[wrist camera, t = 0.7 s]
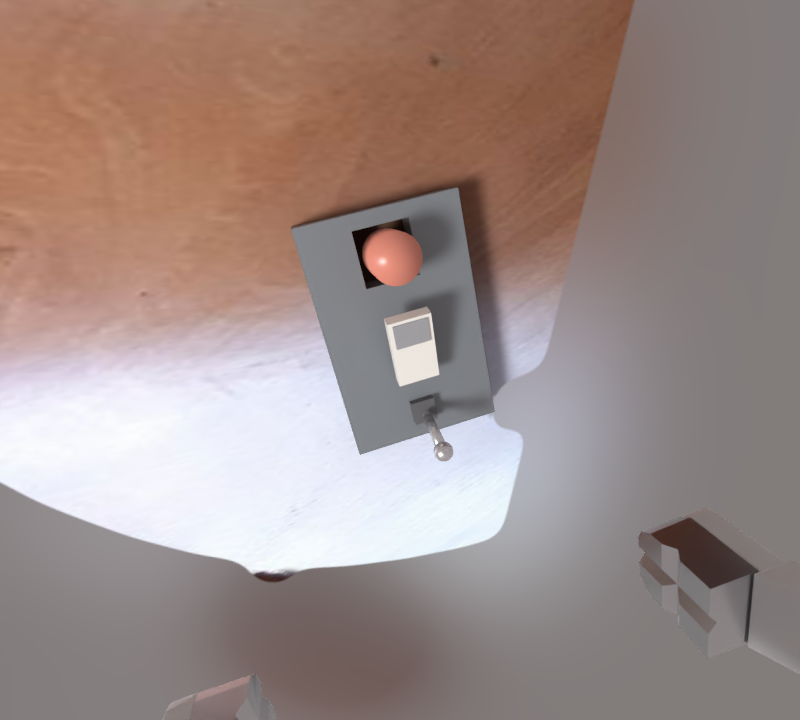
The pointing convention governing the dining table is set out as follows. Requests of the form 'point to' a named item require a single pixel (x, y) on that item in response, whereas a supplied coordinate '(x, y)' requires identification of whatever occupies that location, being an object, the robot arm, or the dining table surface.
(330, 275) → the panel
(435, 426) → the toggle lever
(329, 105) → the dining table surface
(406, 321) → the block
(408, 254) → the push button
